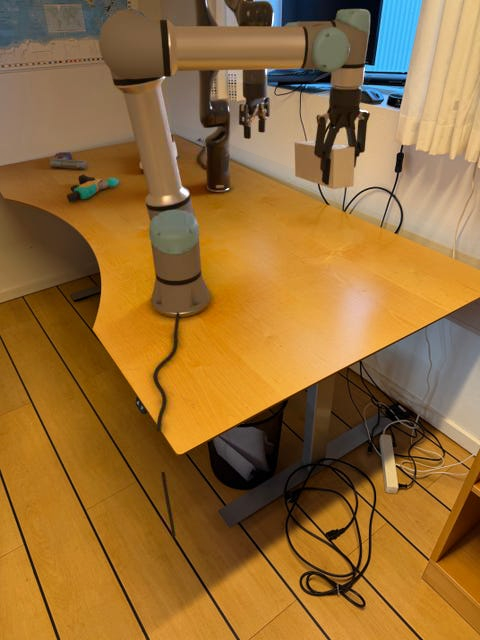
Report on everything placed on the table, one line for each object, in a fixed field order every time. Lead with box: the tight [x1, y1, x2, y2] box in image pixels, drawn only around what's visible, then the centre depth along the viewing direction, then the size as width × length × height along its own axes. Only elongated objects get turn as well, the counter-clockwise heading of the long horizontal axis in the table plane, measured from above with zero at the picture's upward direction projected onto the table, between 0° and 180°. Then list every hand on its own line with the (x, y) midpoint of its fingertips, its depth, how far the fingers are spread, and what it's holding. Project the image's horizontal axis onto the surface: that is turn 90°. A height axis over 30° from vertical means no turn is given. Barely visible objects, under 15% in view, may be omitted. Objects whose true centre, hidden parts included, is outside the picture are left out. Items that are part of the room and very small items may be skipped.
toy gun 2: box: [66, 173, 120, 203], centre depth 188 cm, size 4×26×15 cm
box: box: [294, 140, 355, 190], centre depth 133 cm, size 25×6×10 cm, turn 17°
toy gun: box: [48, 151, 87, 170], centre depth 217 cm, size 4×19×15 cm
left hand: (336, 181), depth 127 cm, fingers closed on box, 6 cm apart
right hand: (254, 135), depth 154 cm, fingers open, 8 cm apart
